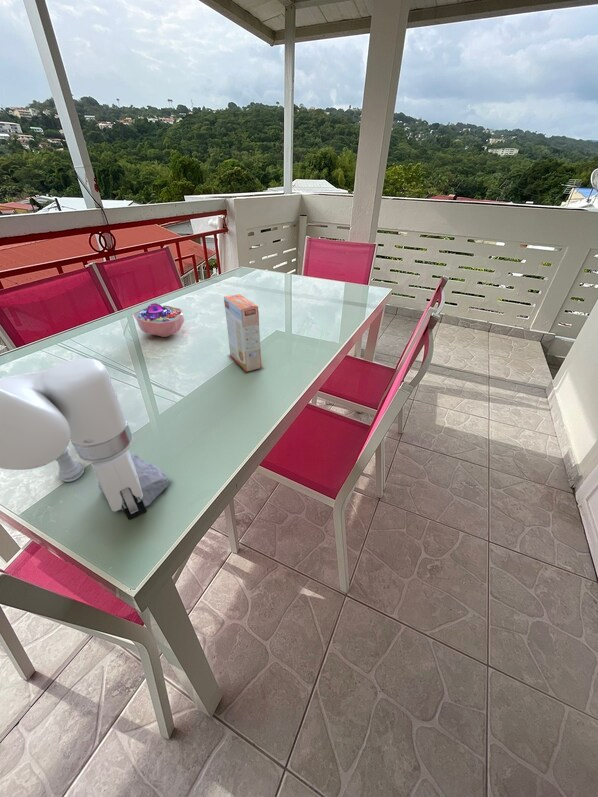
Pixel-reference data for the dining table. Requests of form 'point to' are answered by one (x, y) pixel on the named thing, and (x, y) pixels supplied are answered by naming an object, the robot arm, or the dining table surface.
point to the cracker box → (243, 331)
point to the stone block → (148, 479)
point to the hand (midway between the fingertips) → (136, 513)
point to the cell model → (160, 320)
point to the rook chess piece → (69, 467)
